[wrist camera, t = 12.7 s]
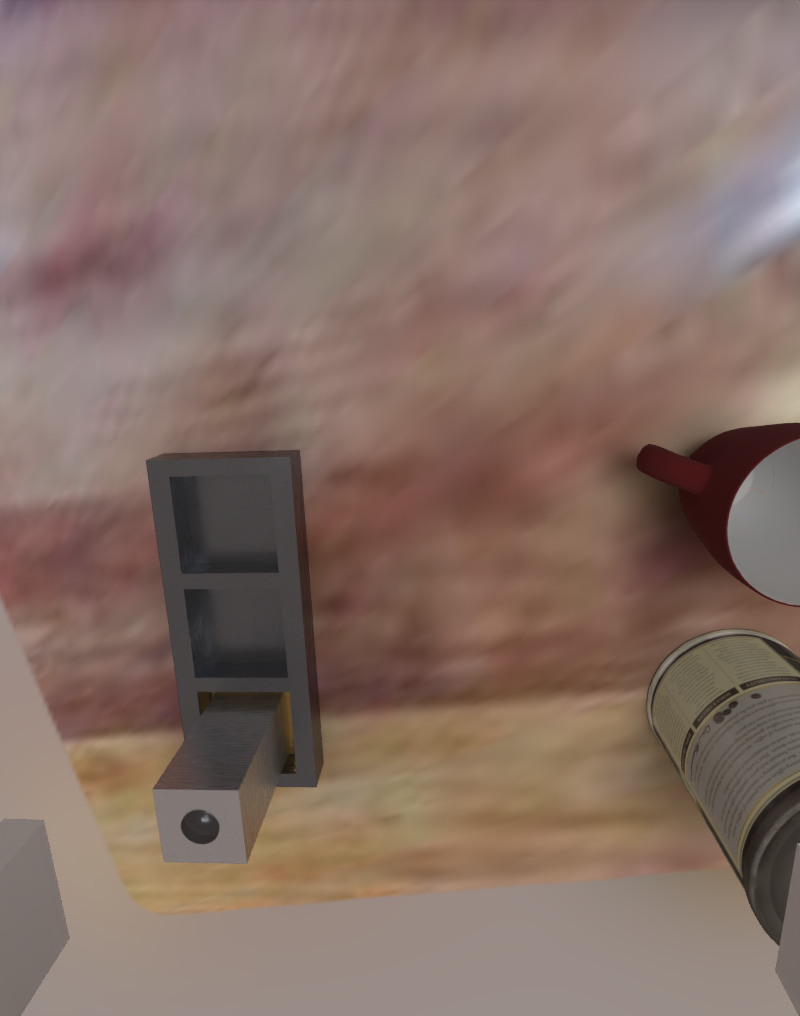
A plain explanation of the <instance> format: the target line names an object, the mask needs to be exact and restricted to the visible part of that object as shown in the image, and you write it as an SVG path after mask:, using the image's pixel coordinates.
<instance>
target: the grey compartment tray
mask: <svg viewBox="0 0 800 1016" xmlns="http://www.w3.org/2000/svg"><path fill="white" fill-rule="evenodd" d="M146 465H147V472H148V479H149V486H150V494H151V501H152V508H153V515H154V522H155V530H156V537H157V544H158V551H159V559H160V566H161V573H162V580H163V587H164V595H165V602H166V609H167V616H168V624H169V631H170V638H171V645H172V652H173V660H174V667H175V674H176V681H177V689H178V696H179V703H180V710H181V717H182V725H183V732H184V739H186V738H187V736H188V735H189V733H190V732H191V730H192V728H193V727H194V725H195V724H196V722H197V721H198V719H199V718H200V716H201V715H202V713H203V712H204V710H205V709H206V707H207V706H208V704H209V703H210V701H211V700H212V698H213V697H214V695H215V694H216V692H287V700H288V711H289V722H290V733H291V744H292V746H291V748H290V751H289V754H288V756H287V759H286V762H285V764H284V767H283V770H282V772H281V775H280V777H279V780H278V783H277V785H276V787H317V784H318V780H319V777H320V773H321V770H322V766H323V750H322V736H321V723H320V710H319V697H318V684H317V671H316V658H315V644H314V631H313V618H312V605H311V592H310V579H309V566H308V552H307V539H306V526H305V513H304V500H303V487H302V473H301V460H300V450H286V451H247V452H209V453H171V454H162V455H160V456H157V457H154V458H151V459H149V460H146Z"/></svg>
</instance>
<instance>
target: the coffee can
mask: <svg viewBox="0 0 800 1016" xmlns="http://www.w3.org/2000/svg"><path fill="white" fill-rule="evenodd" d="M647 714H648V719H649V723H650V726H651V729H652V731H653V733H654V735H655V737H656V738H657V740H658V741H659V742H660V743H661V745H662V746H663V748H664V750H665V752H666V753H667V755H668V757H669V759H670V760H671V762H672V764H673V766H674V767H675V769H676V771H677V773H678V774H679V776H680V778H681V780H682V781H683V783H684V785H685V787H686V788H687V790H688V792H689V794H690V795H691V797H692V799H693V801H694V803H695V805H696V806H697V808H698V810H699V812H700V814H701V815H702V817H703V819H704V820H705V822H706V824H707V825H708V827H709V829H710V831H711V832H712V834H713V836H714V838H715V839H716V841H717V843H718V845H719V846H720V848H721V850H722V852H723V853H724V855H725V857H726V859H727V861H728V862H729V864H730V866H731V868H732V869H733V871H734V873H735V874H736V876H737V878H738V880H739V882H740V883H741V885H742V887H743V888H744V890H745V892H746V895H747V898H748V901H749V904H750V905H751V908H752V910H753V912H754V914H755V916H756V918H757V919H758V921H759V923H760V925H761V926H762V928H763V929H764V930H765V932H766V933H767V934H768V935H769V936H770V938H771V939H773V940H774V941H775V942H776V944H777V945H779V946H780V940H781V934H782V929H783V923H784V917H785V911H786V905H787V900H788V894H789V888H790V882H791V877H792V871H793V865H794V859H795V853H796V848H797V843H800V658H799V657H797V655H796V654H795V653H794V652H793V651H792V650H791V649H790V648H789V647H787V646H786V645H785V644H783V643H782V642H780V641H779V640H777V639H775V638H773V637H771V636H768V635H766V634H763V633H760V632H756V631H752V630H745V629H727V630H719V631H715V632H710V633H707V634H704V635H701V636H698V637H696V638H694V639H692V640H689V641H688V642H686V643H684V644H683V645H681V646H680V647H679V648H678V649H677V650H675V651H674V652H672V653H671V654H670V655H669V656H668V657H667V658H666V659H665V661H664V662H663V663H662V664H661V666H660V667H659V669H658V670H657V672H656V674H655V675H654V677H653V680H652V683H651V685H650V687H649V690H648V699H647Z"/></svg>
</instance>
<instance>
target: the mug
mask: <svg viewBox="0 0 800 1016" xmlns="http://www.w3.org/2000/svg"><path fill="white" fill-rule="evenodd" d="M636 466H637V468H638V469H639V470H640V471H641V472H643V473H645V474H647V475H649V476H651V477H653V478H655V479H658V480H660V481H662V482H665V483H667V484H670V485H672V486H675V487H678V488H679V492H680V501H681V505H682V508H683V511H684V514H685V516H686V518H687V519H688V521H689V523H690V524H691V526H692V527H693V529H694V530H695V532H696V533H697V535H698V536H699V538H700V539H701V540H702V542H703V543H704V545H705V546H706V548H707V549H708V551H709V552H710V553H711V555H712V556H713V557H714V558H715V560H716V561H717V562H718V563H719V564H720V565H721V566H722V567H723V568H724V569H725V570H726V571H728V572H729V573H730V574H731V575H732V576H734V577H735V578H736V579H738V580H739V581H740V582H742V583H743V584H745V585H746V586H748V587H749V588H751V589H752V590H754V591H755V592H757V593H758V594H760V595H761V596H763V597H765V598H767V599H769V600H772V601H775V602H777V603H780V604H784V605H788V606H794V607H800V423H784V424H774V425H764V426H755V427H746V428H739V429H734V430H730V431H727V432H724V433H722V434H719V435H717V436H715V437H713V438H712V439H710V440H708V441H707V442H706V443H704V444H703V445H702V446H701V447H699V448H698V449H697V450H696V451H695V452H694V453H693V454H692V455H691V456H690V457H689V458H686V457H683V456H680V455H678V454H675V453H673V452H671V451H668V450H666V449H664V448H661V447H659V446H656V445H652V444H648V445H646V446H644V447H643V448H642V449H641V451H640V453H639V455H638V457H637V461H636Z"/></svg>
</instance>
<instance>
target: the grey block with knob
mask: <svg viewBox="0 0 800 1016" xmlns="http://www.w3.org/2000/svg"><path fill="white" fill-rule="evenodd" d="M291 746H292V744H291V733H290V722H289V711H288V700H287V692H216V694H215V695H214V697H213V698H212V700H211V701H210V703H209V704H208V706H207V707H206V709H205V710H204V712H203V713H202V715H201V716H200V718H199V719H198V721H197V722H196V724H195V725H194V727H193V728H192V730H191V732H190V733H189V735H188V736H187V738H186V739H185V741H184V742H183V744H182V745H181V747H180V748H179V750H178V751H177V753H176V754H175V756H174V757H173V759H172V760H171V762H170V763H169V765H168V766H167V768H166V769H165V771H164V772H163V774H162V776H161V777H160V779H159V780H158V782H157V783H156V785H155V786H154V788H153V789H152V790H153V796H154V802H155V809H156V815H157V822H158V828H159V834H160V841H161V847H162V854H163V860H164V862H189V863H234V864H247V862H248V860H249V857H250V854H251V852H252V849H253V846H254V844H255V841H256V838H257V836H258V833H259V830H260V828H261V825H262V823H263V820H264V817H265V815H266V812H267V809H268V807H269V804H270V801H271V799H272V796H273V793H274V791H275V788H276V785H277V783H278V780H279V777H280V775H281V772H282V770H283V767H284V764H285V762H286V759H287V756H288V754H289V751H290V748H291Z"/></svg>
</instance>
